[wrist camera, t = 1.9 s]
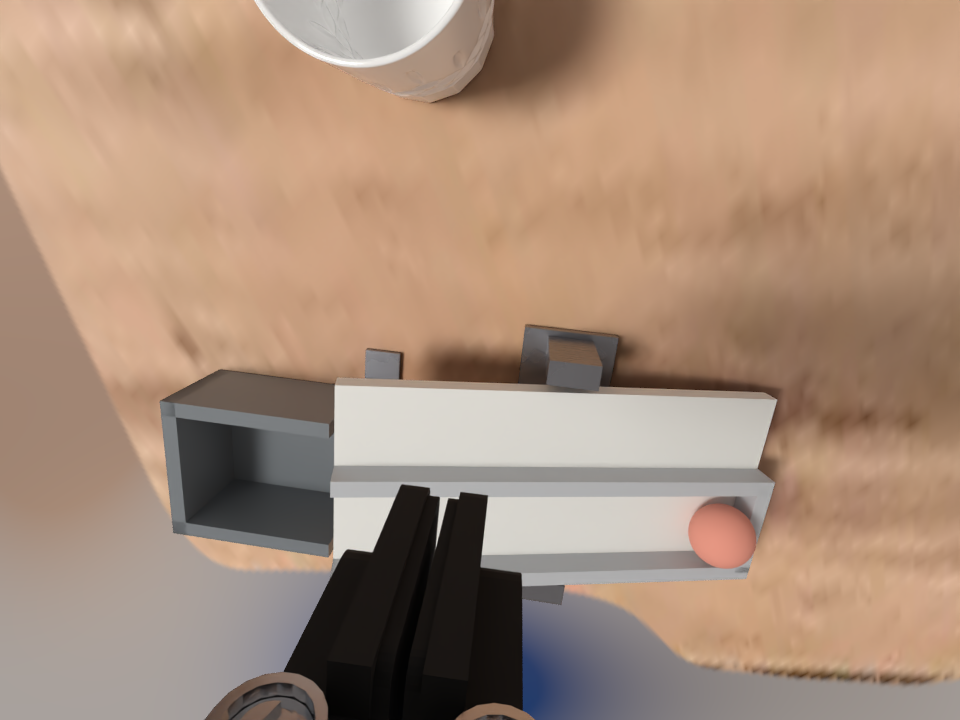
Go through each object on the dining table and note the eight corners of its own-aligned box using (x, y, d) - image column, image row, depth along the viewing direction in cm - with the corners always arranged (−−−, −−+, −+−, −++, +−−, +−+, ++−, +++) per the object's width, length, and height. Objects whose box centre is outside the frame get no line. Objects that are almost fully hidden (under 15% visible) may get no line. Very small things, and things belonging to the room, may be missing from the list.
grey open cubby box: (363, 388, 31) (329, 424, 26) (360, 504, 33) (328, 557, 28) (219, 369, 31) (159, 400, 27) (226, 484, 34) (173, 533, 29)
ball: (732, 489, 28) (778, 525, 25) (719, 539, 29) (761, 579, 26) (682, 493, 27) (723, 530, 24) (670, 544, 28) (708, 586, 25)
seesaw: (764, 392, 27) (797, 410, 25) (720, 550, 30) (746, 578, 28) (337, 377, 24) (330, 397, 22) (335, 558, 27) (329, 592, 25)
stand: (786, 355, 27) (840, 388, 22) (724, 572, 32) (758, 641, 27) (368, 306, 29) (333, 327, 24) (362, 518, 33) (332, 573, 29)
